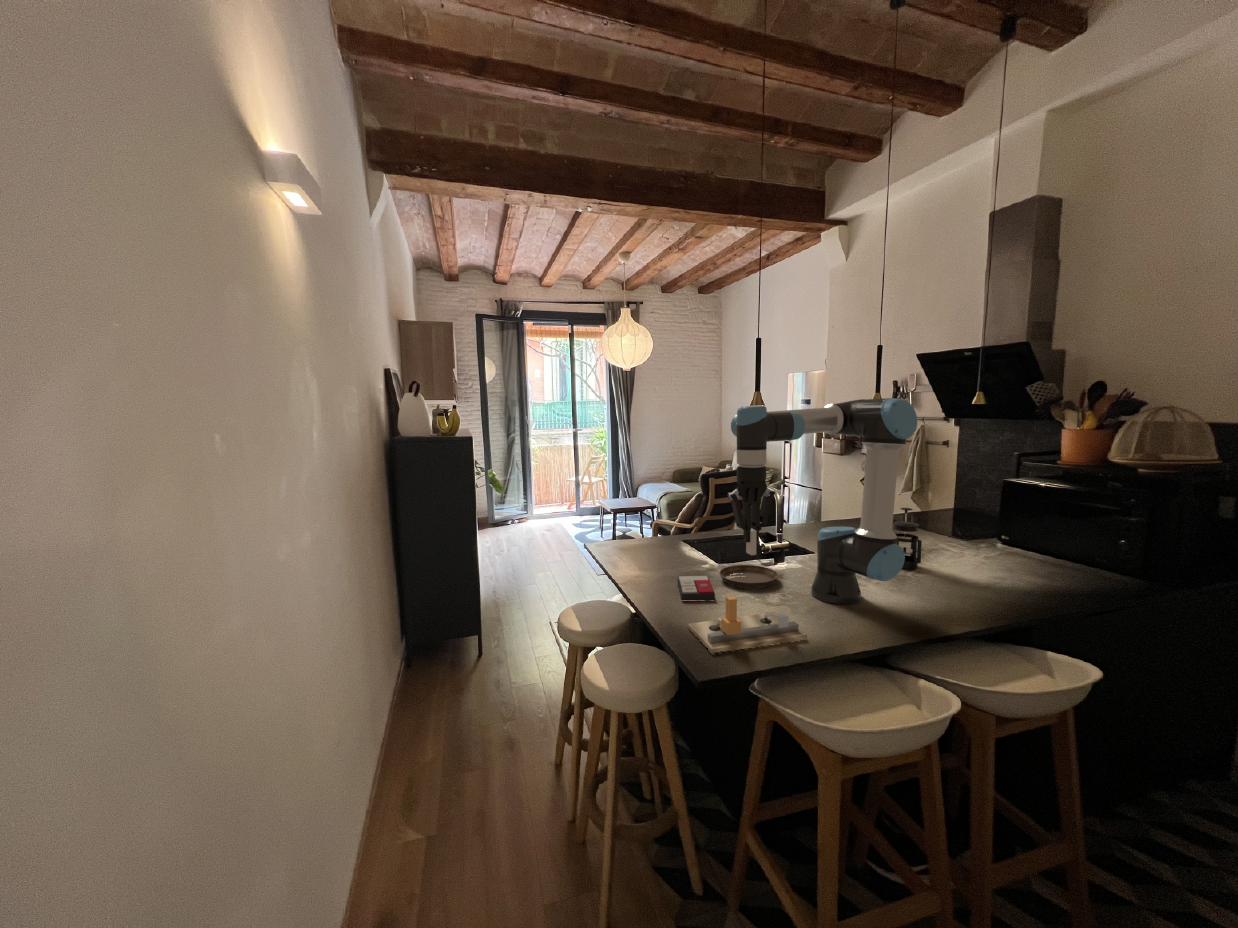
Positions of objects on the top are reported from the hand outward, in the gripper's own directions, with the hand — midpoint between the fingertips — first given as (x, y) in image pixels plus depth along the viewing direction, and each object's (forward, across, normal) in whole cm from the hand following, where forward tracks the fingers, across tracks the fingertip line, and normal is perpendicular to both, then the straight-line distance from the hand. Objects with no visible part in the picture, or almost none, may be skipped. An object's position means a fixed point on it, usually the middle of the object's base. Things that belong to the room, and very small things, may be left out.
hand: (751, 553), depth 133 cm
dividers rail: (+23, -1, -3) cm, 23 cm away
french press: (+25, -88, -39) cm, 99 cm away
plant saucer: (+25, -23, -43) cm, 55 cm away
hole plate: (+24, -1, -4) cm, 25 cm away
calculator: (+25, 0, -38) cm, 45 cm away
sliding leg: (+22, +6, -3) cm, 23 cm away
